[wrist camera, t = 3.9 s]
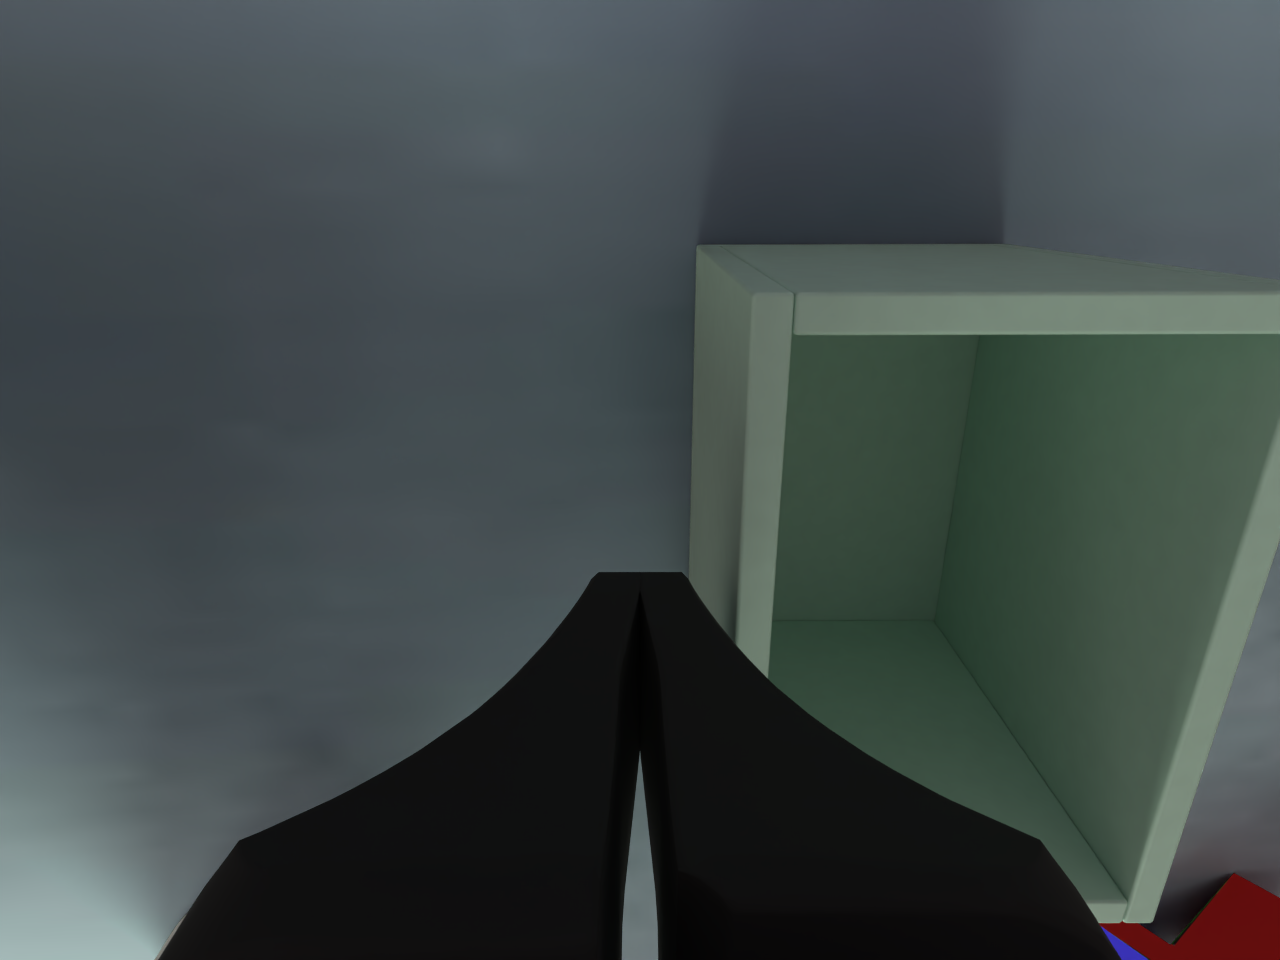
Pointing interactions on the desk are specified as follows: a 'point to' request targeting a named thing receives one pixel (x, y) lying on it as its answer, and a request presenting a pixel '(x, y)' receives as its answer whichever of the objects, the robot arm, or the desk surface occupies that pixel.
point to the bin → (995, 520)
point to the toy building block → (1212, 929)
